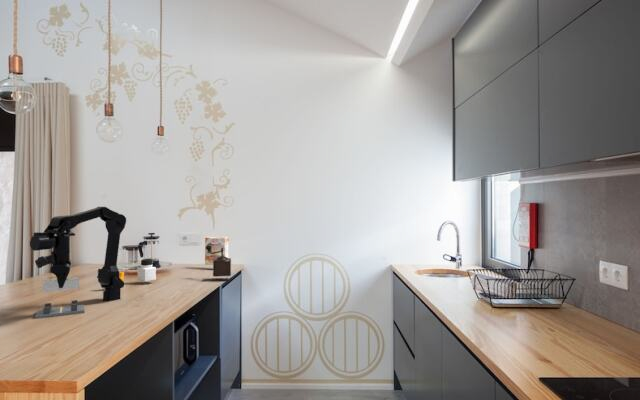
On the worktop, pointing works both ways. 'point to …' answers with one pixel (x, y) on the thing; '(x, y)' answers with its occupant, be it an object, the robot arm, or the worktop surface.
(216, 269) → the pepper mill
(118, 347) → the worktop surface
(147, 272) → the medicine bottle
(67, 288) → the shiny metal block
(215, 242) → the coffeecake box
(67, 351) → the worktop surface
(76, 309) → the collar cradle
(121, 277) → the pipe clamp
